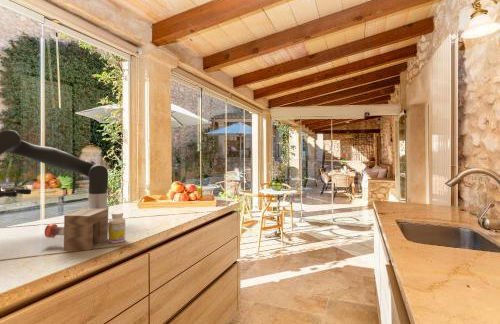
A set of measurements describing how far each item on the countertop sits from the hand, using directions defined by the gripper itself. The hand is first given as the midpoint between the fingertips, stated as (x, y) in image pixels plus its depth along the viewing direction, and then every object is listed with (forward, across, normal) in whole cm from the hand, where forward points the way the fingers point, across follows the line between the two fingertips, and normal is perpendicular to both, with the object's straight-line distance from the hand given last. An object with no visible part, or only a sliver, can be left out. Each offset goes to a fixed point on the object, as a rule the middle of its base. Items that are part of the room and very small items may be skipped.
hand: (23, 192), depth 119 cm
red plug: (+18, 0, +19) cm, 26 cm away
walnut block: (+26, +2, +22) cm, 34 cm away
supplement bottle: (+37, +7, +22) cm, 43 cm away
